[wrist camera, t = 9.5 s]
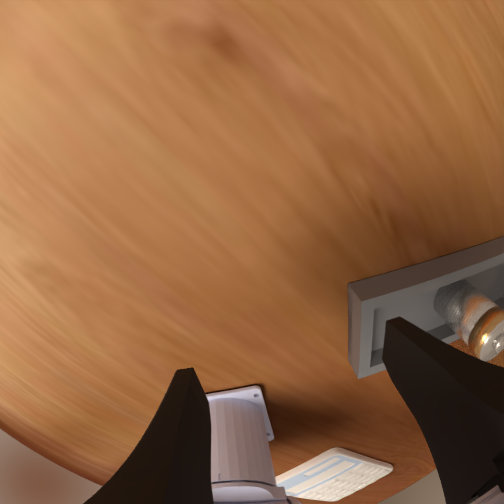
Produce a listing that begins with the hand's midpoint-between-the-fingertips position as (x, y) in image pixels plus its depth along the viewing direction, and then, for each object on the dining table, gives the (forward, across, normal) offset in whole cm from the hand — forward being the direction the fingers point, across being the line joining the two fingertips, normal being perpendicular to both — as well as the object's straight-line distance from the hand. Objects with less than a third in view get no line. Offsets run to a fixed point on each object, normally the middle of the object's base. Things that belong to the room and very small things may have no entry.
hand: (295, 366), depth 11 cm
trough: (+10, -16, +8) cm, 21 cm away
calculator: (+11, -5, +40) cm, 42 cm away
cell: (+10, -16, +8) cm, 20 cm away
